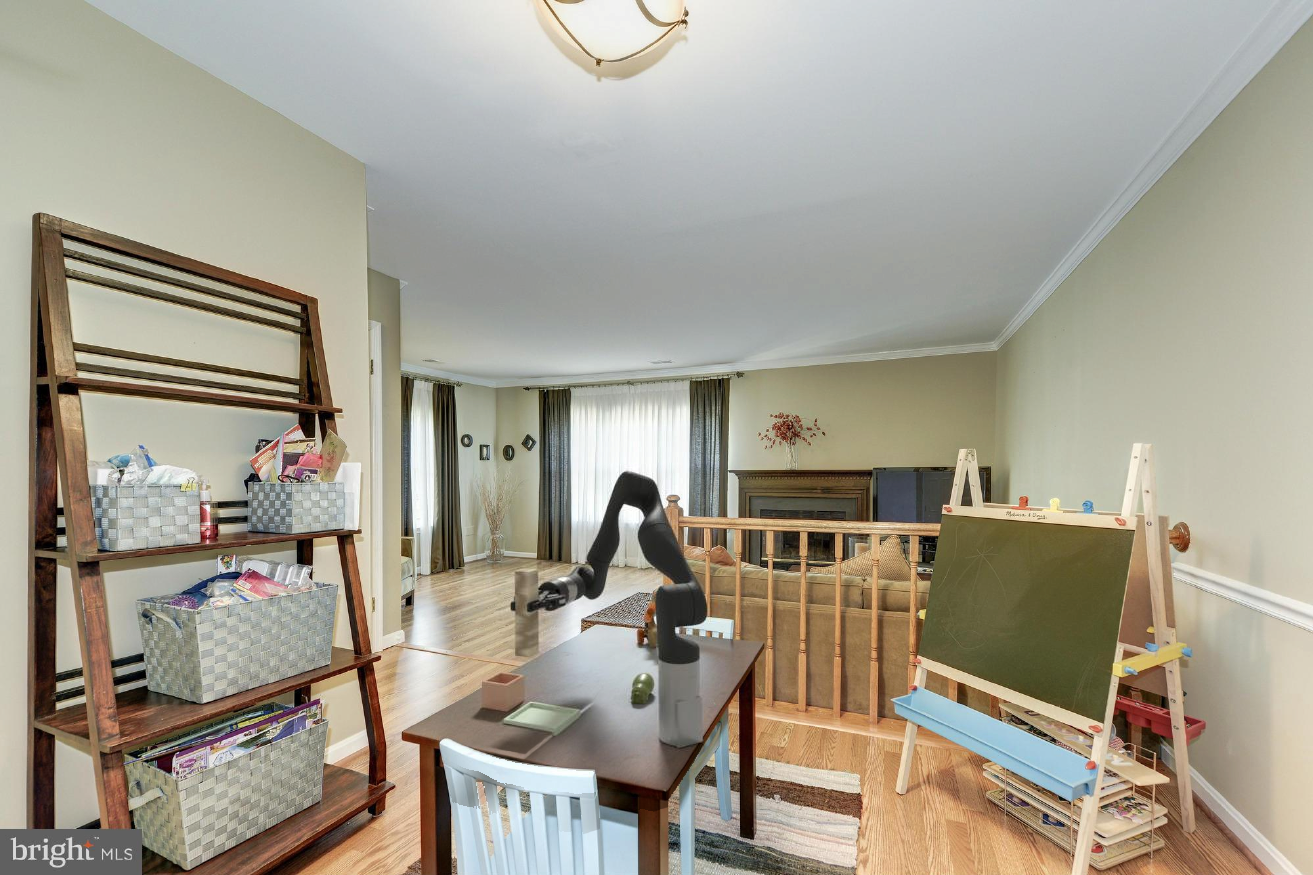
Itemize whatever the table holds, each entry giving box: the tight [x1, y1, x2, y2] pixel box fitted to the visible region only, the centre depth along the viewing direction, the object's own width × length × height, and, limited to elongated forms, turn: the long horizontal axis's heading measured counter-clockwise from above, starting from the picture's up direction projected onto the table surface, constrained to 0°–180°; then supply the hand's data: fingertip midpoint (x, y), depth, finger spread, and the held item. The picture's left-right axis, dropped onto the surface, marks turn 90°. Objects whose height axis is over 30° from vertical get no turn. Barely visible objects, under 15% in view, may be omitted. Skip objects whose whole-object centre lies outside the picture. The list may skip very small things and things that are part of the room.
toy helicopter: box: [636, 601, 658, 649], centre depth 195 cm, size 8×21×14 cm, turn 11°
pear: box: [630, 672, 655, 704], centre depth 154 cm, size 6×5×10 cm
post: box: [514, 568, 540, 658], centre depth 144 cm, size 4×4×20 cm
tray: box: [503, 701, 581, 737], centre depth 140 cm, size 14×11×2 cm
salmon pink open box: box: [481, 671, 526, 712], centre depth 149 cm, size 7×7×7 cm
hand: (520, 607), depth 141 cm, fingers closed on post, 4 cm apart
